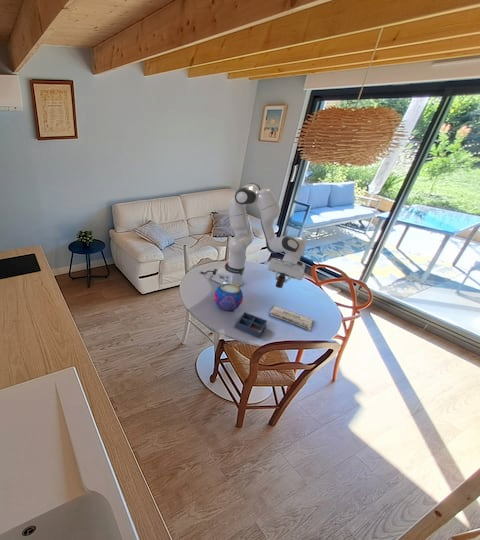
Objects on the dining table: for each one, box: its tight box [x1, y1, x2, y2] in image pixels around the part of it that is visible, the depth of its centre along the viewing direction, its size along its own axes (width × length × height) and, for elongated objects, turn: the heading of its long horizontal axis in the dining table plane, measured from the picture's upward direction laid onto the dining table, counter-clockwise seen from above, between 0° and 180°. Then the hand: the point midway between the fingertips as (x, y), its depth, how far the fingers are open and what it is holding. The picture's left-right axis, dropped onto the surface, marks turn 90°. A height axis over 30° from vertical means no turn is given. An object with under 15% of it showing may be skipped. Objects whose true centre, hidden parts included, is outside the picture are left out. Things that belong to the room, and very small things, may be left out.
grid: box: [235, 311, 268, 338], centre depth 169 cm, size 13×13×4 cm
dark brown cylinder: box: [275, 273, 286, 289], centre depth 178 cm, size 4×4×10 cm
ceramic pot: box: [213, 283, 244, 311], centre depth 184 cm, size 18×18×15 cm
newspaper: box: [269, 305, 314, 331], centre depth 176 cm, size 23×12×2 cm, turn 48°
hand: (280, 280), depth 178 cm, fingers closed on dark brown cylinder, 4 cm apart
